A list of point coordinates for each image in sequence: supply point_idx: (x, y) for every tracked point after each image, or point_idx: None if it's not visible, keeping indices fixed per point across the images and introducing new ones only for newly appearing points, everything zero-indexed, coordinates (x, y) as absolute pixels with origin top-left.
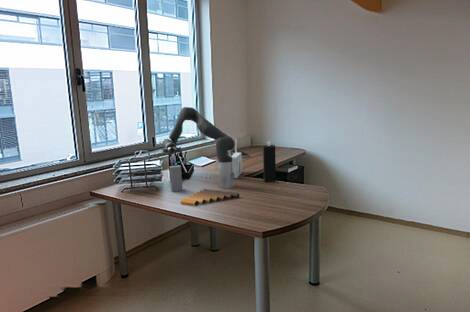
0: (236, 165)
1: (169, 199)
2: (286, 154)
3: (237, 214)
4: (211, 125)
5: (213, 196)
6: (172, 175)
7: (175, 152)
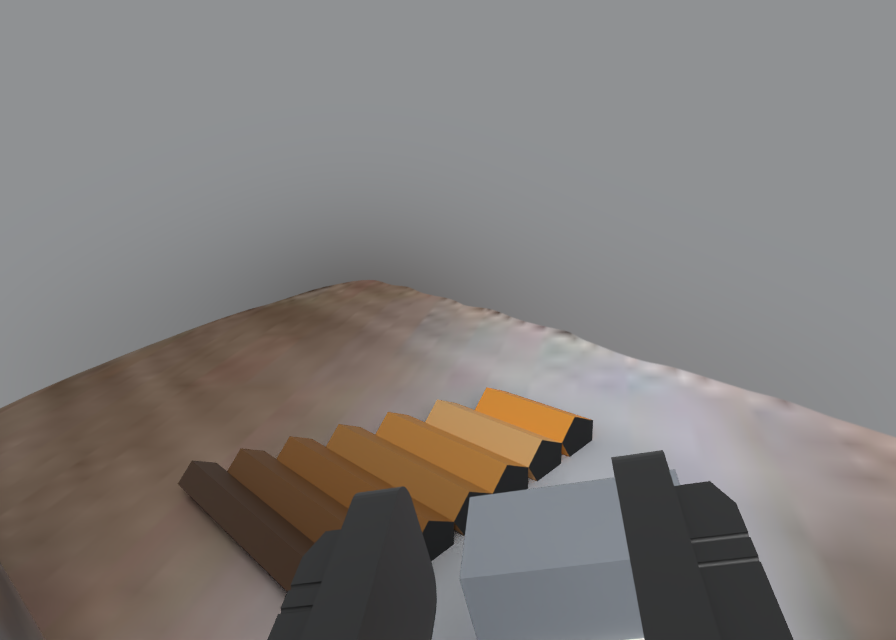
0: None
1: None
2: None
3: (357, 341)
4: None
5: (358, 433)
6: None
7: (424, 563)
